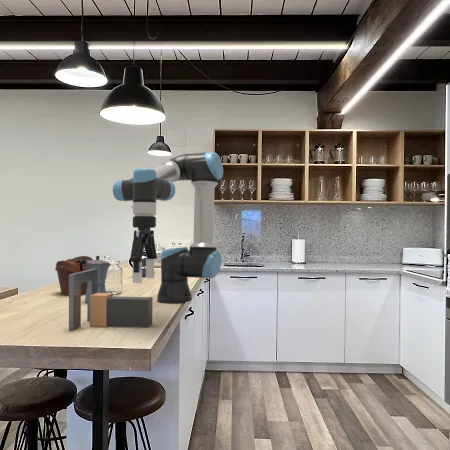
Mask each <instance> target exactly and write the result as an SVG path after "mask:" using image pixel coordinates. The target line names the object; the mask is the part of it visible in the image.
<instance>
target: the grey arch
mask: <svg viewBox="0 0 450 450" xmlns="http://www.w3.org/2000/svg"><path fill="white" fill-rule="evenodd" d="M85 282H87V302H86V306H87V308H86V309H87V310H86V311H87V312H86V313H87V316H86V317H87V319H86V321H87V322H90V295H93V294H96V293H98V269H91V270H86V271H82V272H78V273H73V274H69V295H68V331H71V332H72V331H76V330H78V329H80V328H82V314H81V313H82V302H81V301H82V295H81V283H85Z"/></svg>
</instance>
